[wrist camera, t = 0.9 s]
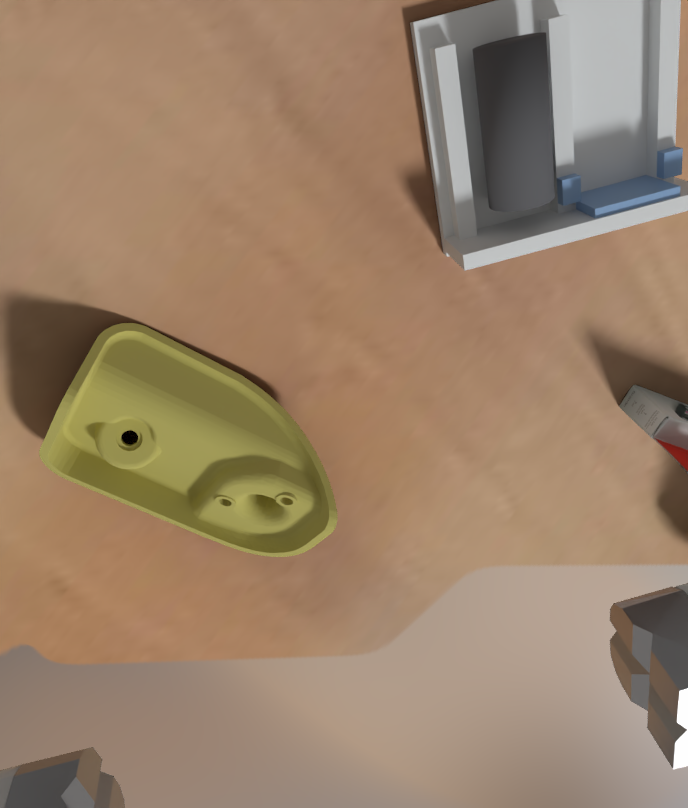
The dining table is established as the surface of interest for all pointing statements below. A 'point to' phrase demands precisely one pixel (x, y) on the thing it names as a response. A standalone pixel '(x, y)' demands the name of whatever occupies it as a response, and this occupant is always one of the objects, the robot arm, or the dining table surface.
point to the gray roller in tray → (515, 121)
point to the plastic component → (190, 445)
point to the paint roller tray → (557, 121)
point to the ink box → (660, 420)
